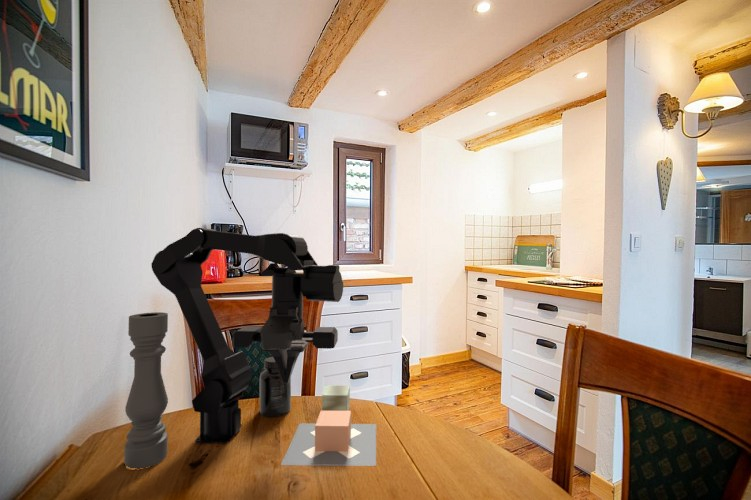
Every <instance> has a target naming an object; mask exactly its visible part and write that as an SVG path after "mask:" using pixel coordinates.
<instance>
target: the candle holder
mask: <svg viewBox="0 0 751 500" xmlns="http://www.w3.org/2000/svg"><path fill="white" fill-rule="evenodd" d="M168 317H169V313H167V312H143V313H138V314H137V313H136V314H132V315H130V316H128V336H129V337H130V339H129V340H130V341H131V343H132V345H133V346H134V348H133V349H132V350H130V352H129V355H130V357H131V358H133V360H134V366H133V367H134V371H133V373H134V374H133V375H134V376H133V380H132V384H131V387H130V391H129V395H128V398H127V401H126V404H125V414H126V416H127V418H128V419H129V420H130V421H131V422H130V424H131V425H132V427H131V428H130V429H129V431H128V433H127V434H126V440H127V441H126V443H125V444H124V447H123V448H124V450H123V451H124V452H123V453H124V455H123V456H124V457H123V464H124V463H125V465H126V466H128V467H130V468H137V469H140V468H146V467H149V466H152V467H154V466H156V465H158V464H159V463H161V462H163V461H164V460H165V459H166V458H167V455H168V438H169V437H168V433H167V432H166V429H167V426H166V425H165V423H164V422H163V421H162V418H163V414H164V412H165V410H166V408H167V407H168V403H169V398H168V394H167V392H166V391H167V390H166V386H165V383H164V379H163V375H162V356H163V354H164V353H165V352H166V350H167V349H166V348H167V347H165V346H164V345H163V344H162V343H163V341H164V339H165V338H166V335H167V334H166V333H168V328H169V327H168V326H169V324H168V322H169V321H168V319H169V318H168ZM153 465H154V466H153ZM149 468H150V467H149ZM146 469H147V468H146Z"/></svg>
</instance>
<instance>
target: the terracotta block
mask: <svg viewBox="0 0 751 500" xmlns="http://www.w3.org/2000/svg"><path fill="white" fill-rule="evenodd" d="M315 424H316V425H315V451H348V450H349V443H350V436H351V424H352V410H349V411H322V410H320V412H319V415H318V416H317V420H316V423H315Z"/></svg>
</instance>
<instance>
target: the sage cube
mask: <svg viewBox="0 0 751 500" xmlns="http://www.w3.org/2000/svg"><path fill="white" fill-rule="evenodd" d="M350 390H351V389H350V385H329V384H328V385H325V387H324V390H323V392H322V395H321V411H350V403H351V402H350V398H351V397H350V396H351V395H350V394H351V391H350Z"/></svg>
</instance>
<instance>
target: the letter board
mask: <svg viewBox="0 0 751 500" xmlns="http://www.w3.org/2000/svg"><path fill="white" fill-rule="evenodd" d="M315 425H316V423H302V422H301V423H299V424H298V426H297V429H296V431H295V433H294V436H293V437H292V440H291V442H290V444H289V447H288V448H287V450H286V452H285V455H284V457H283V459H282V461H281V464H280V465H281V466H333V467H334V466H336V467H338V466H339V467H340V466H342V467H343V466H345V467H346V466H347V467H349V466H350V467H351V466H352V467H354V466H355V467H356V466H357V467H361V466H362V467H363V466H364V467H368V466H369V467H376V466H377V423H351V436H350V443H349V450H348V451H315Z"/></svg>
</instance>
